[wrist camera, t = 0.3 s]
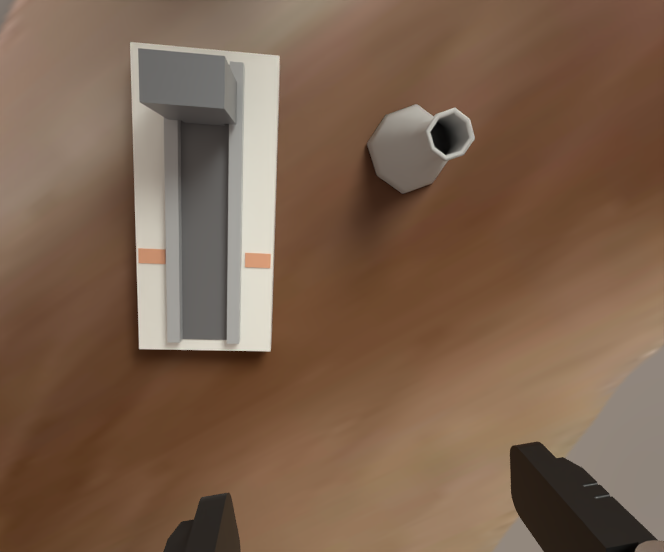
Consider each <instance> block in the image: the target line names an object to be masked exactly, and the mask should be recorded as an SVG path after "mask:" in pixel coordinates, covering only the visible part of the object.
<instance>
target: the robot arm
mask: <svg viewBox="0 0 664 552" xmlns="http://www.w3.org/2000/svg"><path fill="white" fill-rule="evenodd" d="M510 469H511V494H512V500H513V503H514V506H515V509H516V511H517V513H518V515H519V516H520V518H521V519H522V521H523V522H524V524H525V525H526V527H527V528H528V529H529V531H530V532H531V533H532V535H533V537H534V538H535V539H536V541H537V542H538V544H539V545H540V547H541V548H542V550H543V551H544V552H664V541H658V540H657V539H656V538H655V537H654V536H653V535H652V534H651V533H650V532H649V531H648V530H647V529H646V528H645V527H644V526H643V525H642V524H640V523H639V522H638V521H637V520H636V519H635V518H634V517H633V516H632V515H631V514H630V513H629V512H628V511H627V510H626V509H624V507H623V506H622V505H621V504H620V503H618V502H617V501H616V500H615V499H614V498H613V497H610V495H609V493H608V492H607V491H606V490H605V489H604V488H603V487H602V486H601V485H598V484H597V481H595V480H594V479H593V478H592V477H591V476H590V475H589V474H588V473H587V472H586V471H585V470H584V469H583V468H581V467H580V466H578V465H576V464H574V463H572V462H571V461H569V460H567V459H565V458H563V457H562V458H555V457H554V456H553V454H552V453H551V452H550V451H549V450H548V449H547V448H546V447H545V446H544V445H543V444H541V443H540V442H533V443H527V444H521V445H515V446H512V447H511V449H510ZM164 552H240V540H239V535H238V529H237V524H236V519H235V514H234V509H233V504H232V499H231V495H230V493H224V494H218V495H212V496H206V497H202V498H201V499H200V501H199V505H198V508H197V512H196V515H195V518H194V520H189V521H183V522H181V523H180V524H179V526H178V527H177V528H176V529H175V531H174V532H173V533H172V534H171V536H170V537H169V538H168V540H167V543H166V546H165V549H164Z"/></svg>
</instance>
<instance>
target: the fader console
mask: <svg viewBox="0 0 664 552" xmlns="http://www.w3.org/2000/svg"><path fill="white" fill-rule="evenodd" d="M138 48H142V49H153V50H164V51H175V52H186V53H196V54H207V55H218V56H225V57H226V60H227V62H228V64H229V66H230V68H231V70H232V73H233V75H234V77H235V79H236V81H237V119H236V125H235V124H225V126H221V125H208V124H194V123H184V122H183V121H181V120H168V119H166V118H164V117H163V116H161V115H160V114H158V113H156V112H155V111H153V110H152V109H150V108H148V107H147V106H145V105H143V104H142V103H140V101H139V63H138ZM130 57H131V91H132V125H133V159H134V192H135V226H136V260H137V294H138V328H139V349H164V350H222V351H270V349H271V340H272V308H273V276H274V244H275V212H276V180H277V148H278V116H279V84H280V58H279V56H277V55H266V54H256V53H245V52H234V51H223V50H212V49H201V48H191V47H180V46H169V45H158V44H147V43H137V42H130Z"/></svg>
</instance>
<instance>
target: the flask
mask: <svg viewBox="0 0 664 552" xmlns="http://www.w3.org/2000/svg"><path fill="white" fill-rule="evenodd" d="M474 139H475V137H474V133H473V129H472V125H471V121H470V119H469V118H468V117H466V116H465V115H464V114H463V113H461V112H460V111H459V110H458V109H456V108H452V109H449V110H447V111H444V112H441V113H438V114H436V115H435V116H432V115H431V114H429V113H428V112H427V111H425V110H424V109H423V108H421V107H420V106H419V105H417V104H415V105H413V106H410V107H407V108H404V109H401V110H398V111H396V112H393V113H390V114H387V115H385V117H384V118H383V120H382V121H381V123H380V124H379V126H378V127H377V129H376V130H375V132H374V133H373V135H372V136H371V138H370V139H369V141H368V143H367V146H368V149H369V152H370V155H371V159H372V162H373V165H374V168H375V171H376V174H377V176H378V177H379V178H381V179H382V180H384V181H385V182H386V183H388V184H389V185H391V186H392V187H394V188H395V189H396V190H398V191H399V192H401V193H402V194H404V193H407V192H410V191H413V190H415V189H418V188H421V187H424V186H426V185H429V184H432V183H433V182H434V180H435V179H436V177H437V176H438V175H439V173H440V172H441V170H442V169H443V167H444V166H445V164H446V163H447V161H448V160H451V159H453V158H456V157H459V156H462V155H464V154H465V152H466V151H467V149H468V148H469V146H470V145H471V143H472V142H473V140H474Z"/></svg>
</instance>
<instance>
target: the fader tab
mask: <svg viewBox="0 0 664 552" xmlns="http://www.w3.org/2000/svg"><path fill="white" fill-rule="evenodd" d="M138 63H139V101H140V103H142V104H143V105H145V106H147V107H148V108H150V109H152V110H153V111H155V112H156V113H158V114H160V115H161V116H163V117H164V118H166V119H168V120H181V121H183V122H184V123H194V124H208V125H221V126H225V124H235V125H236V119H237V81H236V79H235V77H234V75H233V73H232V70H231V68H230V66H229V64H228V62H227V60H226V57H225V56H218V55H207V54H196V53H186V52H175V51H164V50H153V49H142V48H138Z"/></svg>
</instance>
